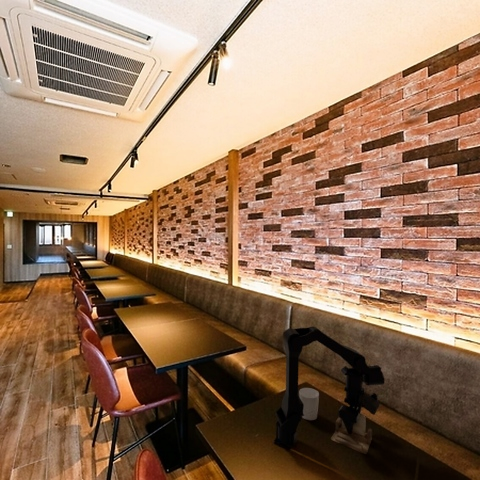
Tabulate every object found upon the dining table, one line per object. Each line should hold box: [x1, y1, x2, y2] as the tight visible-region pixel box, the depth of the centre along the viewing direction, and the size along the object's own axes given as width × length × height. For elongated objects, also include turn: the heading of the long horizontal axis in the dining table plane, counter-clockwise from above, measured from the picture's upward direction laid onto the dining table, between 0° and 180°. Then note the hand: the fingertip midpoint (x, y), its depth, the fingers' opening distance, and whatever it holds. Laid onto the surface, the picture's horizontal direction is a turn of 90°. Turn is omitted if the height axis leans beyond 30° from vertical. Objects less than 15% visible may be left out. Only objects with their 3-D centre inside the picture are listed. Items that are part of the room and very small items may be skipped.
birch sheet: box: [341, 413, 367, 437], centre depth 106 cm, size 8×2×8 cm, turn 54°
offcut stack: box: [335, 432, 363, 452], centre depth 101 cm, size 9×3×2 cm, turn 54°
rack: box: [330, 416, 373, 455], centre depth 104 cm, size 12×10×4 cm
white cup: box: [298, 387, 320, 421], centre depth 118 cm, size 8×8×10 cm
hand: (353, 427), depth 106 cm, fingers open, 9 cm apart
